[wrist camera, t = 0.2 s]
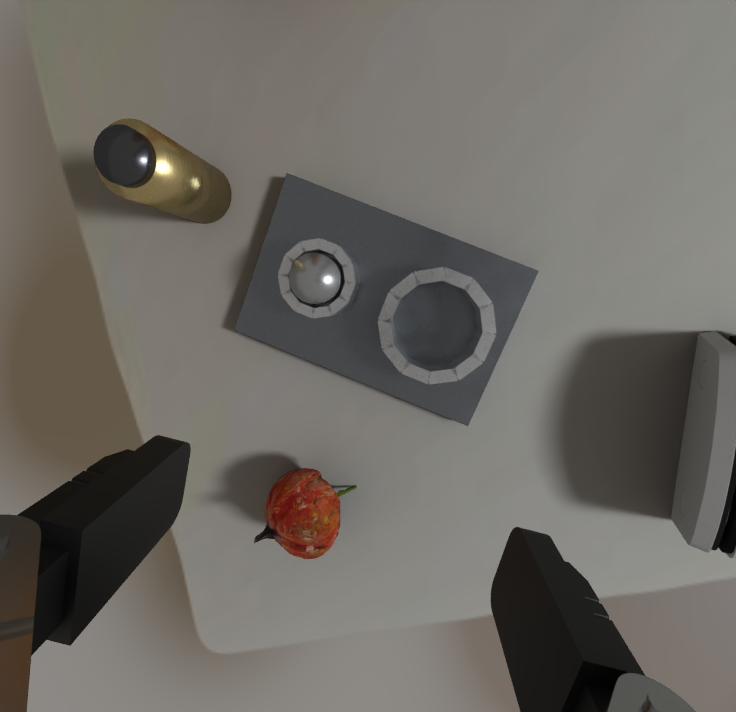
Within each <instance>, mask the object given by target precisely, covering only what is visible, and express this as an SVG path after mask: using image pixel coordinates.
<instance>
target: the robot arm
mask: <svg viewBox="0 0 736 712" xmlns="http://www.w3.org/2000/svg"><path fill="white" fill-rule="evenodd" d="M189 458H190V444H189V443H187V442H183V441H180V440H176V439H172V438H168V437H164V436H160V435H157V436H155V437H153V438H152V439H150V440H149V441H148V442H146V443H145V444H143V445H142V446H141V447H139V448H138V449H137V450H136V451H132V450H124V451H121V452H119V453H115V454H112V455H109V456H106V457H104V458H102V459H101V460H99V461H98V462H97V463H95V464H93V465H92V466H90V467H89V468H87V470H86V471H83V472H81V473H80V474H78V475H77V476H75V477H74V478H73V479H72V481H68V482H66V483H65V484H63V485H62V486H60V487H59V488H57V489H56V490H54V491H53V492H51V493H50V494H48V495H47V496H45V497H44V498H42V499H41V500H40V501H38V502H36V503H35V504H33V505H32V506H30V507H29V508H27V509H26V510H24V511H23V512H21V513H20V514H18V515H0V712H27V700H28V688H29V687H28V686H29V676H30V664H31V656H32V655H33V653H34V652H35V651H36V650H37V649H38V648H39V647H40V646H41V645H42V644H43V643H44V642H45V641H46V640H50V641H54V642H58V643H62V644H66V645H71V644H72V643H73V642H74V640H75V639H76V638H77V637H78V636H79V635H80V633H81V632H82V631H83V630H84V629H85V628H86V626H87V625H88V624H89V623H90V622H91V620H92V619H93V618H94V617H95V616H96V615H97V613H98V612H99V611H100V610H101V609H102V608H103V606H104V605H105V604H106V603H107V602H108V600H109V599H110V598H111V597H112V596H113V594H114V593H115V592H116V591H117V590H118V589H119V587H120V586H121V585H122V583H124V582H125V580H126V579H127V578H128V577H129V576H130V574H131V573H132V572H133V571H134V570H135V569H136V567H137V566H138V565H139V564H140V563H141V561H142V560H143V559H144V558H145V557H146V556H147V554H148V553H149V552H150V551H151V550H152V549H153V547H154V546H155V545H156V544H157V543H158V541H159V540H160V539H161V538H162V537H163V536H164V534H165V533H166V532H167V531H168V530H169V528H170V527H171V526H172V524H173V523H174V521H175V519H176V517H177V515H178V513H179V510H180V508H181V504H182V500H183V495H184V488H185V482H186V476H187V470H188V464H189ZM491 608H492V612H493V616H494V619H495V623H496V626H497V630H498V633H499V637H500V641H501V644H502V648H503V651H504V655H505V658H506V662H507V666H508V669H509V673H510V676H511V679H512V683H513V687H514V690H515V694H516V697H517V701H518V704H519V708H520V711H521V712H696V711H695V710H694V709H693V708H692V707H691V706H690V705H689V704H688V703H687V702H686V701H685V700H683V699H682V698H681V697H680V696H678V695H677V694H676V693H675V692H673V691H672V690H671V689H669V688H668V687H666V686H664V685H663V684H661V683H659V682H657V681H656V680H654V679H651V678H649V677H647V676H645V674H644V673H643V671H642V670H641V668H640V666H639V665H638V663H637V661H636V660H635V658H634V656H633V655H632V653H631V652H630V650H629V648H628V646H627V645H626V643H625V642H624V640H623V638H622V637H621V635H620V633H619V632H618V630H617V629H616V627H615V625H614V624H613V622H612V621H611V620H609V615H608V614H607V612H606V610H605V609H604V607H603V605H602V604H600V603H599V599H598V597H597V596H596V594H595V592H594V591H593V589H592V587H591V586H590V584H589V582H588V581H587V580H586V579H585V578H584V577H583V576H582V575H581V574H580V573H579V572H578V571H577V570H576V569H575V568H574V567H573V566H572V565H571V564H570V563H569V562H565V561H564V560H563V558H562V556H561V555H560V553H559V551H558V549H557V548H556V546H555V544H554V542H553V541H552V539H551V537H550V536H549V535H547V534H543V533H539V532H535V531H531V530H527V529H523V528H519V527H516V528H514V529H513V530H512V532H511V533H510V536H509V538H508V541H507V544H506V547H505V549H504V552H503V555H502V558H501V560H500V563H499V566H498V569H497V572H496V574H495V577H494V580H493V584H492V589H491Z"/></svg>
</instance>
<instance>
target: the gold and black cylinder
mask: <svg viewBox="0 0 736 712" xmlns="http://www.w3.org/2000/svg"><path fill="white" fill-rule="evenodd" d="M94 160H95V164H96V168H97V172H98V174H99V177H100V179H101V180H102V182H103V183H104V185H105V186H106V187H107V188H108V189H109V190H110V191H111V192H113V193H114V194H116V195H117V196H120V197H122V198H125V199H128V200H131V201H134V202H137V203H140V204H143V205H147V206H150V207H153V208H156V209H159V210H162V211H165V212H168V213H171V214H174V215H177V216H180V217H183V218H186V219H189V220H192V221H195V222H198V223H205V224H207V223H212V222H215V221H217V220H219V219H220V218H221V217H223V216H224V214H225V213H226V212H227V210H228V208H229V206H230V202H231V187H230V184H229V182H228V180H227V178H226V176H225V175H224V174H223V173H222V172H221V171H220V170H219V169H217V168H216V167H214V166H212V165H211V164H209V163H208V162H206V161H205V160H203V159H201V158H200V157H198V156H197V155H195V154H194V153H192V152H190V151H189V150H187V149H186V148H184V147H182V146H181V145H179V144H178V143H176V142H175V141H173V140H171V139H170V138H168V137H167V136H165V135H164V134H162V133H160V132H159V131H157V130H156V129H154V128H152V127H151V126H149V125H148V124H146V123H144V122H142V121H140V120H136V119H122V120H118V121H116V122H114V123H112V124H111V125H109V126H108V127H107V128H106V129H104V130H103V131H102V132H101V133H100V134H99V136H98V137H97V140H96V142H95V146H94Z"/></svg>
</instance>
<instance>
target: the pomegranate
mask: <svg viewBox="0 0 736 712" xmlns="http://www.w3.org/2000/svg"><path fill="white" fill-rule="evenodd" d="M356 487H357V486H352V487H349V488H347V489H346V490H340V491H339V492H338V493H337V494H336V493H335V492H334V490H333V488H332V486H331V485H330V484H329V483H328V482H327V481H325V480H323V479H322V477H321V474H320V472H319V471H317V470H314V469H307V468H303V469H299V470H295V471H291V472H288V473H287V474H285V475H284V476H282V477H280V478H279V480H278V481H277V482H276V483H275V484H274V486H273V487H272V489H271V491H270V493H269V495H268V498H267V500H266V503H265V518H266V522H267V525H266V528H265V529H264V531H263V532H262V533H261V534H259V535H257V536H256V537H255V540H254V543H256V542H258V541H260V540H262V539H265V538H269V539H275V541H276V542H278V543H279V544H280V545H281V546H282V547H283V548H284V549H285V550H286V551H287V552H289V553H290V554H292V555H294V556H297V557H302V558H303V559H314V558H317V557H319V556H322V555H323V554H324V553H325V552H326V551H328V550H329V549H330V548H331V546H332V545H333V544H334V541H335V539H336V537H337V535H338V531H339V528H340V500H339V498H338V497H339V496H341V495H343V494H345V493H347V492H349V491H351V490H353V489H355V488H356Z"/></svg>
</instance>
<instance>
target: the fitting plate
mask: <svg viewBox="0 0 736 712" xmlns="http://www.w3.org/2000/svg"><path fill="white" fill-rule="evenodd" d="M537 273H538V271H537V270H535V269H532V268H529V267H527V266H524V265H522V264H519V263H517V262H514V261H511V260H509V259H506V258H504V257H501V256H499V255H496V254H493V253H491V252H488V251H486V250H483V249H481V248H478V247H475V246H473V245H470V244H468V243H465V242H463V241H460V240H458V239H455V238H452V237H450V236H447V235H445V234H442V233H440V232H437V231H434V230H432V229H429V228H427V227H424V226H422V225H419V224H416V223H414V222H411V221H409V220H406V219H404V218H401V217H398V216H396V215H393V214H391V213H388V212H386V211H383V210H380V209H378V208H375V207H373V206H370V205H368V204H365V203H363V202H360V201H357V200H355V199H352V198H350V197H347V196H345V195H342V194H339V193H337V192H334V191H332V190H329V189H327V188H324V187H321V186H319V185H316V184H314V183H311V182H309V181H306V180H303V179H301V178H298V177H296V176H293V175H291V174H288V173H287V174H286V177H285V180H284V183H283V186H282V189H281V192H280V195H279V198H278V201H277V204H276V207H275V210H274V213H273V216H272V219H271V222H270V225H269V228H268V231H267V234H266V237H265V240H264V243H263V245H262V248H261V251H260V254H259V257H258V260H257V263H256V266H255V269H254V272H253V275H252V278H251V281H250V284H249V287H248V290H247V293H246V296H245V299H244V302H243V305H242V308H241V311H240V314H239V317H238V320H237V323H236V326H235V329H234V330H235V331H237V332H240V333H242V334H245V335H247V336H250V337H252V338H254V339H257V340H259V341H262V342H264V343H267V344H269V345H271V346H274V347H276V348H279V349H281V350H284V351H286V352H289V353H291V354H293V355H296V356H298V357H301V358H303V359H306V360H308V361H310V362H313V363H315V364H318V365H320V366H323V367H325V368H327V369H330V370H332V371H335V372H337V373H340V374H342V375H345V376H347V377H349V378H352V379H354V380H357V381H359V382H362V383H364V384H366V385H369V386H371V387H374V388H376V389H379V390H381V391H384V392H386V393H388V394H391V395H393V396H396V397H398V398H401V399H403V400H405V401H408V402H410V403H413V404H415V405H418V406H420V407H422V408H425V409H427V410H430V411H432V412H435V413H437V414H440V415H442V416H444V417H447V418H449V419H452V420H454V421H457V422H459V423H461V424H464V425H466V426H468V425H469V423H470V420H471V418H472V416H473V414H474V412H475V409H476V407H477V405H478V403H479V401H480V398H481V396H482V394H483V392H484V390H485V387H486V385H487V383H488V381H489V379H490V377H491V374H492V372H493V370H494V368H495V366H496V363H497V361H498V359H499V357H500V355H501V352H502V350H503V348H504V346H505V344H506V341H507V339H508V337H509V335H510V333H511V330H512V328H513V326H514V324H515V322H516V319H517V317H518V315H519V313H520V311H521V308H522V306H523V304H524V302H525V300H526V297H527V295H528V293H529V291H530V289H531V286H532V284H533V282H534V280H535V278H536V276H537Z"/></svg>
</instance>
